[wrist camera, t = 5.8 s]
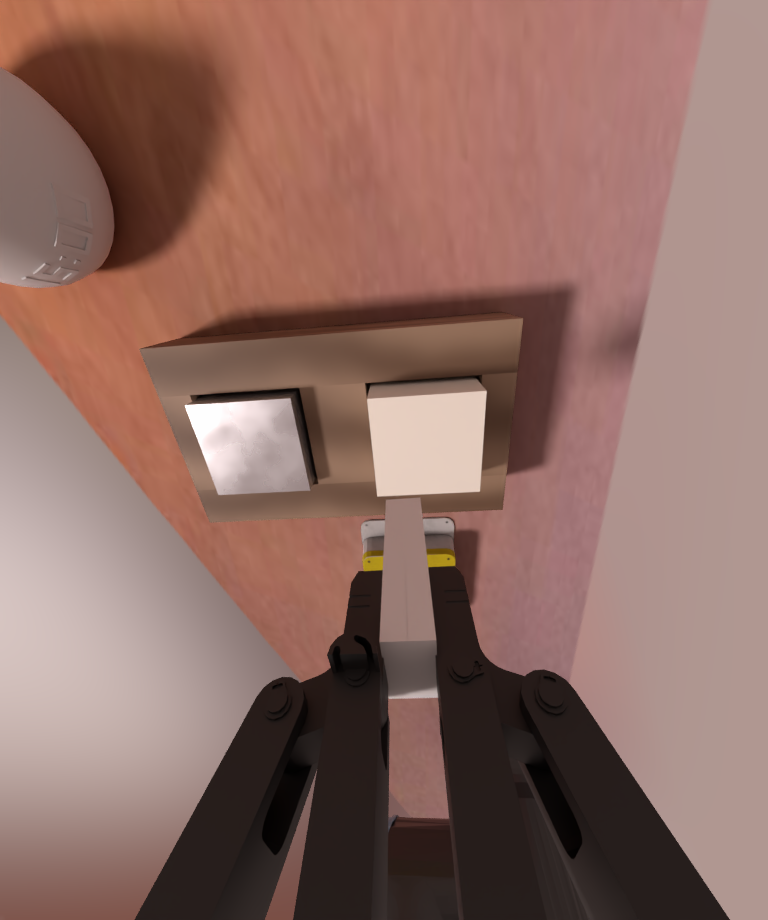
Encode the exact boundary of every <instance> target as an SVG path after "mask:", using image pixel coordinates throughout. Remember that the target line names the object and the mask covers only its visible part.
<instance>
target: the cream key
mask: <svg viewBox="0 0 768 920" xmlns="http://www.w3.org/2000/svg"><path fill="white" fill-rule="evenodd" d="M486 394H487V391H486V390H485V388H484V387H483V386H482V385H481V384H480V382H479V381H478V380H477V379H476V377H475V376H472V377H457V378H443V379H429V380H415V381H400V382H386V383H372V384H371V385H370V389H369V393H368V397H367V404H368V414H369V423H370V432H371V442H372V451H373V461H374V470H375V480H376V489H377V497H379V496H400V495H421V494H442V493H464V492H480V483H481V468H482V453H483V438H484V424H485V409H486Z"/></svg>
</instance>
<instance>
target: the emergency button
mask: <svg viewBox="0 0 768 920" xmlns="http://www.w3.org/2000/svg"><path fill="white" fill-rule="evenodd" d="M423 526H424V535H425V544H426V553H427V562H428V567H441V566H455V552H454V523H453V521H452V520H451V519H450V518H447V517H430V518H423ZM384 533H385V519H375V520H367V521H364V522H363V523H362V525H361V535H362V543H363V568H364V571H376V570H383V554H384Z"/></svg>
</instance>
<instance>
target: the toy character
mask: <svg viewBox="0 0 768 920" xmlns="http://www.w3.org/2000/svg"><path fill="white" fill-rule="evenodd" d="M113 235H114V215H113V206H112V202H111V198H110V194H109V190H108V187H107V185H106V182H105V180H104V177H103V175H102V172H101V169H100V168H99V166H98V164H97V162H96V160H95V159H94V157H93V155H92V153H91V151H90V150H89V148H88V147H87V145H86V144H85V143H84V141H83V140H82V139H81V137H80V136H79V134H78V133H77V132H76V130H75V129H74V128H73V127H72V126H71V125H70V124H69V123H68V122H67V121H66V120H65V119H64V118H63V117H62V116H61V114H60V113H59V112H57V111H56V110H55V109H54V108H53V107H52V106H51V105H50V104H49V103H48V102H47V101H46V100H45V99H44V98H43V97H42V96H41V95H39V94H38V93H37V92H36V91H35V90H33V89H32V88H31V87H30V86H28V85H27V84H26V83H25V82H23V81H22V80H21V79H20V78H18V77H16V76H15V75H13V74H11V73H10V72H8V71H6V70H5V69H3V68H1V67H0V282H2V283H7V284H12V285H17V286H23V287H33V288H44V287H56V286H64V285H69V284H71V283H74V282H76V281H78V280H81V279H83V278H84V277H86V276H88V275H90V274H92V273H93V272H95V271H96V270H97V269H98V268H99V267H100V266H102V264H103V263H104V261H105V259H106V258H107V256H108V255H109V252H110V249H111V246H112V243H113Z"/></svg>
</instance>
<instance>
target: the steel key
mask: <svg viewBox="0 0 768 920" xmlns="http://www.w3.org/2000/svg"><path fill="white" fill-rule="evenodd" d="M185 407H186V410H187V413H188V415H189V418H190V421H191V423H192V426H193V429H194V431H195V434H196V437H197V439H198V442H199V445H200V447H201V450H202V453H203V455H204V458H205V461H206V463H207V466H208V469H209V471H210V474H211V477H212V479H213V482H214V485H215V487H216V490H217V493H218V495H230V494H251V493H271V492H291V491H310V490H311V488H312V485H313V483H314V480H315V478H316V476H317V473H316V469H315V464H314V459H313V454H312V449H311V444H310V439H309V434H308V429H307V424H306V419H305V414H304V409H303V404H302V399H301V394H300V389H299V388H287V389H273V390H258V391H244V392H230V393H215V394H204V395H202V396H200V397H199V398H197V399H195V400H193V401H192V402H190V403H188V404H187V405H185Z"/></svg>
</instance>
